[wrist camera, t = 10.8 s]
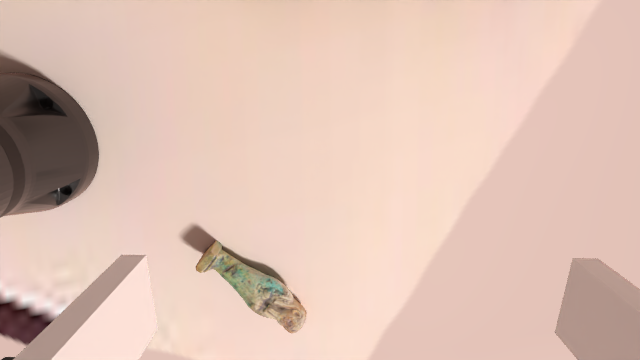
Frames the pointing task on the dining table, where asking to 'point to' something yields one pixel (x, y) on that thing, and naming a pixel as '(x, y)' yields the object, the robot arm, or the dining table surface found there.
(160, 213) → the dining table surface
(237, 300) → the dining table surface
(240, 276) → the figurine
